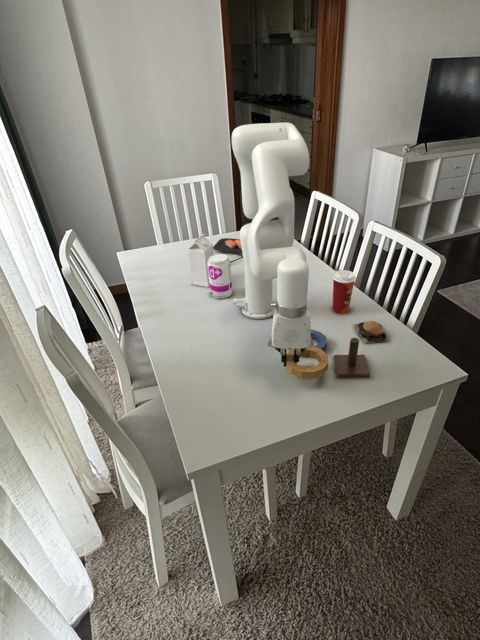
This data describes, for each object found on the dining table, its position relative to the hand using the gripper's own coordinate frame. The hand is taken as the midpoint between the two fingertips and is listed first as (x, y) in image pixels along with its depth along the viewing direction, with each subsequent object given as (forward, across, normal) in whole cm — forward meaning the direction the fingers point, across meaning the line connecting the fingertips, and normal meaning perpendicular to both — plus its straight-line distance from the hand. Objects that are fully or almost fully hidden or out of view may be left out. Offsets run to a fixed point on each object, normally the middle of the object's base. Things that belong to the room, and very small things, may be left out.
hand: (290, 363), depth 114 cm
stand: (+4, +18, +3) cm, 19 cm away
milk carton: (+6, -33, +58) cm, 67 cm away
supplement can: (+6, -25, +48) cm, 55 cm away
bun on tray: (+5, +27, +21) cm, 35 cm away
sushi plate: (+7, -20, +84) cm, 87 cm away
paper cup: (+5, +19, +36) cm, 41 cm away
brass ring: (+1, +5, 0) cm, 5 cm away
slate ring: (+5, +6, +14) cm, 16 cm away
